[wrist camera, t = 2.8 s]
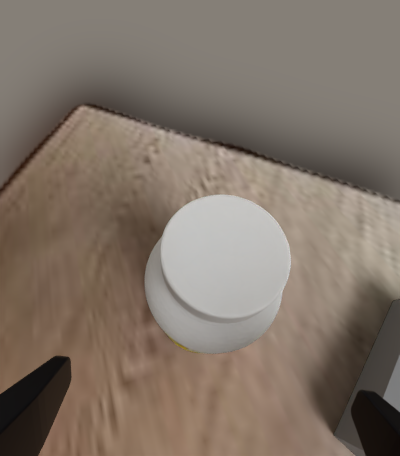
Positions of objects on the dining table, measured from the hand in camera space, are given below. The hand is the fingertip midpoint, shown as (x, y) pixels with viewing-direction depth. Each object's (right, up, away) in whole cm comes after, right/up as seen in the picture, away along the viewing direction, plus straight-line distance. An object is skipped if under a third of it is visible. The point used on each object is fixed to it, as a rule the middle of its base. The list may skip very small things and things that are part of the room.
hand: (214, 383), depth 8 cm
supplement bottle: (0, -2, +12) cm, 13 cm away
